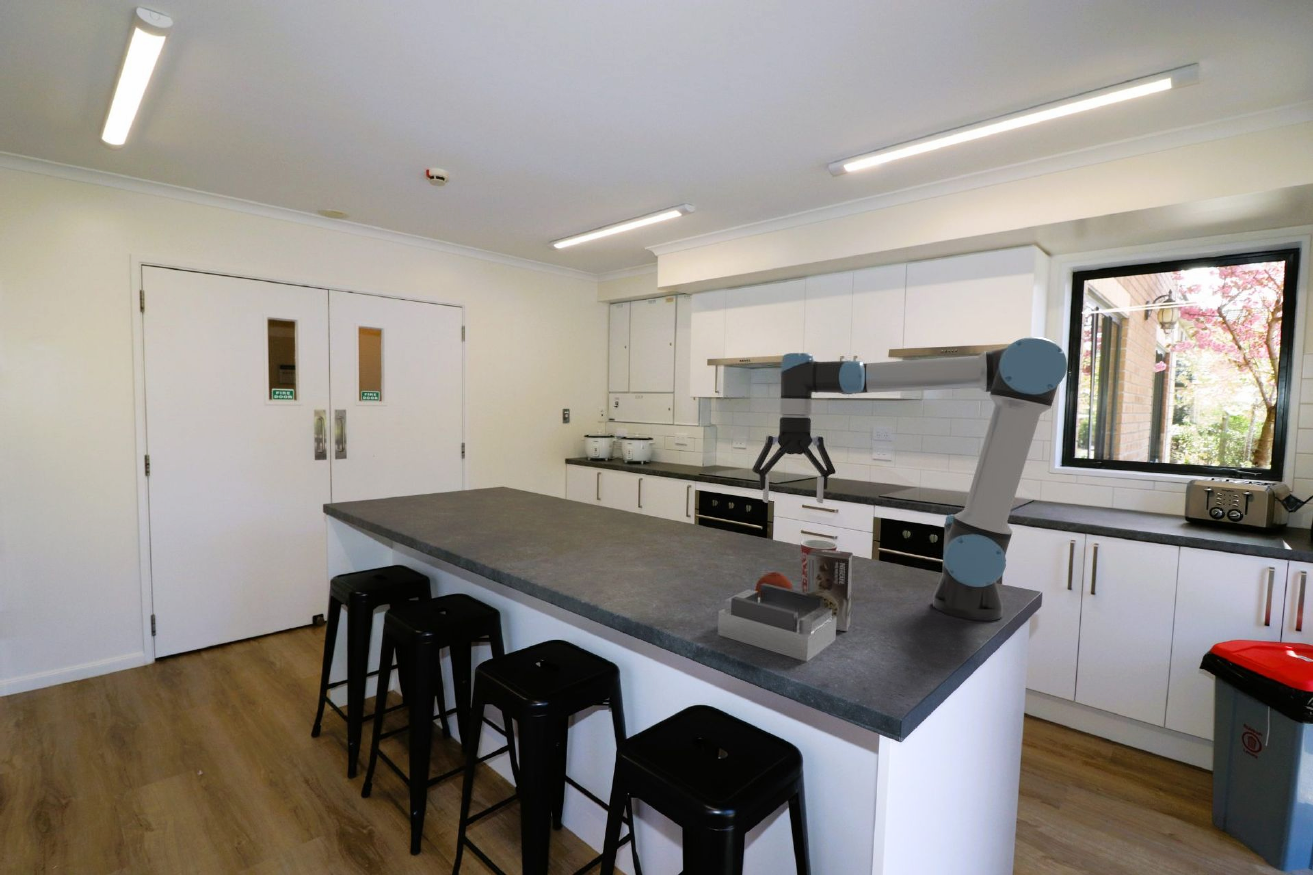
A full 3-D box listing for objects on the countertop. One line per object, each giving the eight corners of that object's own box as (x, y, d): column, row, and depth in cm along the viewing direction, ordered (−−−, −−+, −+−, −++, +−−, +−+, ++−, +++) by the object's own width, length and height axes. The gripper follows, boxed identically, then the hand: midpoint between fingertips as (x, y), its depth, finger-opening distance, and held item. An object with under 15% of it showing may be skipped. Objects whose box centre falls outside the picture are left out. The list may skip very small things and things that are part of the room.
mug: (826, 604, 150) (828, 549, 149) (792, 595, 156) (794, 543, 155) (846, 592, 160) (848, 541, 159) (813, 584, 166) (815, 535, 165)
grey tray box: (835, 640, 127) (837, 600, 127) (807, 661, 116) (808, 617, 116) (750, 616, 140) (752, 580, 139) (717, 634, 129) (719, 594, 128)
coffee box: (850, 622, 138) (854, 552, 137) (846, 632, 132) (850, 558, 131) (809, 615, 142) (812, 547, 141) (804, 624, 136) (807, 553, 135)
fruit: (752, 598, 153) (753, 567, 152) (788, 599, 153) (789, 568, 152) (757, 610, 144) (758, 577, 144) (795, 612, 144) (796, 578, 143)
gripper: (839, 417, 155) (837, 500, 156) (742, 415, 154) (740, 499, 155) (850, 417, 147) (847, 505, 149) (748, 416, 146) (745, 504, 148)
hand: (792, 502), depth 152 cm, fingers open, 13 cm apart
